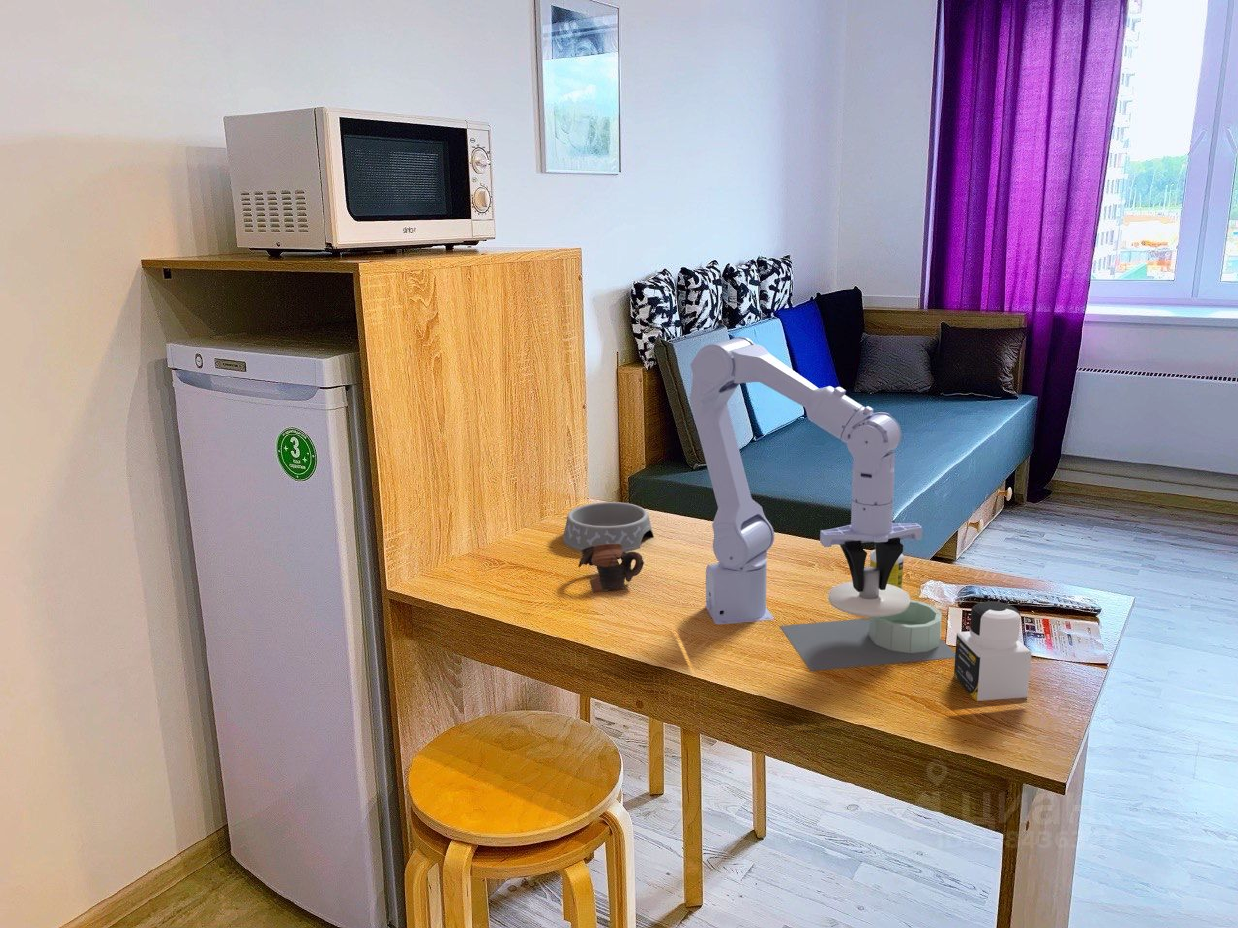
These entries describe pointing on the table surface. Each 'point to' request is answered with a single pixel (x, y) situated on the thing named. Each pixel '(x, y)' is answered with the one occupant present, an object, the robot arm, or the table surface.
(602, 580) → the pottery mug
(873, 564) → the supplement bottle
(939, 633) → the bowl
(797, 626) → the mat
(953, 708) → the table surface
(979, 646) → the medicine bottle
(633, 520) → the dog bowl
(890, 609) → the lid
